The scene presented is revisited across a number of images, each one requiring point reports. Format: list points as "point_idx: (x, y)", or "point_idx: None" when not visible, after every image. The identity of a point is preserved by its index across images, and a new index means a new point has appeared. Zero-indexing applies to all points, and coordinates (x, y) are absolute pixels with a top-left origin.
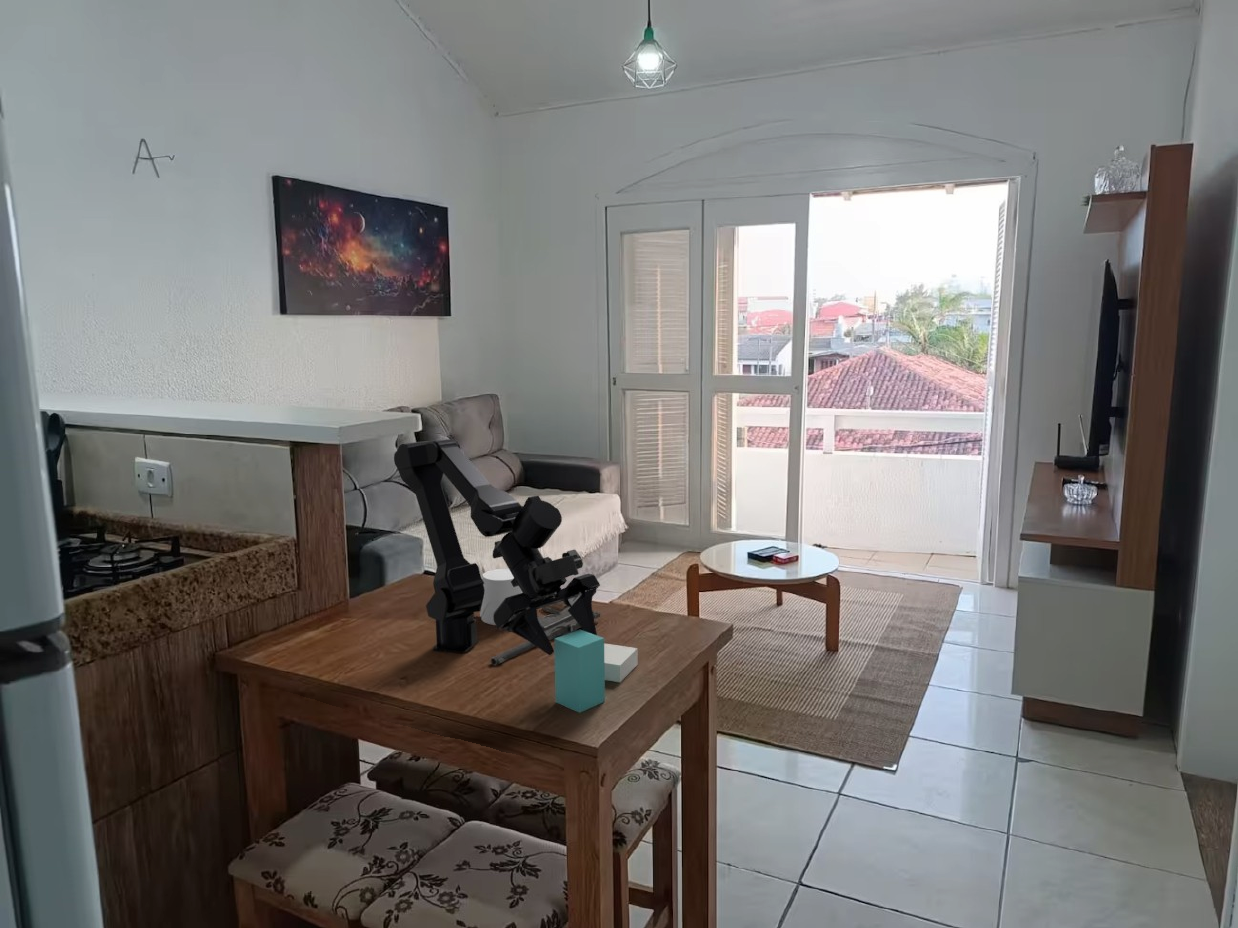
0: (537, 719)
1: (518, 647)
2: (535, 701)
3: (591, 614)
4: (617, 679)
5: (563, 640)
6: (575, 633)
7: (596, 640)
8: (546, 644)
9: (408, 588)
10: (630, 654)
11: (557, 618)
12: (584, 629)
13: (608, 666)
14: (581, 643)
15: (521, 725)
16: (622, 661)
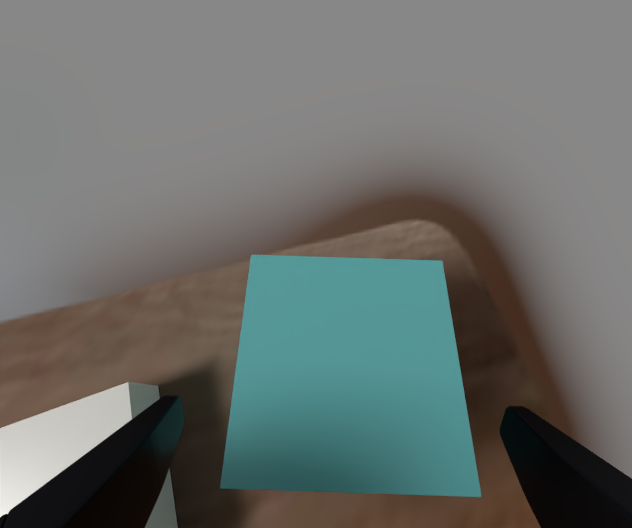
0: (482, 390)
1: None
2: (424, 497)
3: (9, 524)
4: (156, 393)
5: (446, 410)
6: (303, 447)
7: (304, 261)
8: (581, 447)
9: None
10: (12, 426)
11: None
12: (142, 523)
13: None
14: (392, 290)
15: (535, 397)
16: (92, 400)
